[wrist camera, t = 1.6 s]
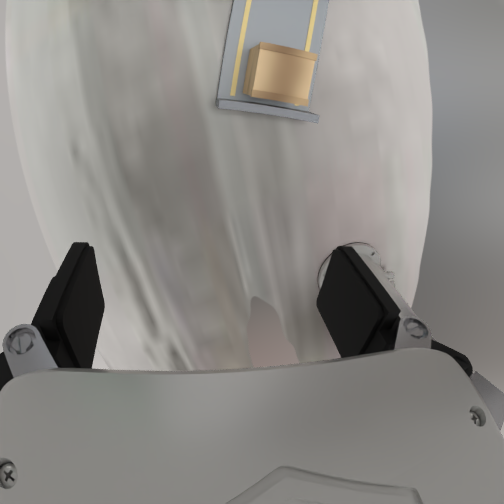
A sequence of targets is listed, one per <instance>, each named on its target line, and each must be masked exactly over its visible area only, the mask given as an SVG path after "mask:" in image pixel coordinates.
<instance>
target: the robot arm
mask: <svg viewBox="0 0 504 504" xmlns="http://www.w3.org/2000/svg"><path fill="white" fill-rule="evenodd" d="M393 278H394V273H393V272H385V271H384V270H383V269H382V267H381V260H380V256H379V254H378V253H377V251H376V250H375V249H374V248H373V247H371V246H370V245H368V244H364V243H353V244H349V245H346V246H338V247H337V248H336V249H335V250H333V252H332V254H331V255H330V256H329V257H328V258H327V260H326V261H325V262H324V264H323V265H322V267H321V269H320V272H319V276H318V284H319V288H320V292H319V295H318V298H317V308H318V310H319V312H320V314H321V316H322V318H323V320H324V322H325V324H326V326H327V328H328V330H329V332H330V335H331V337H332V339H333V341H334V343H335V345H336V347H337V349H338V351H339V353H340V355H341V358H338V359H331V360H324V361H316V362H308V363H299V364H290V365H280V366H270V367H257V368H243V369H225V370H199V371H140V370H108V369H92V364H93V358H94V353H95V348H96V344H97V339H98V334H99V330H100V326H101V321H102V317H103V313H104V308H105V304H104V298H103V294H102V289H101V284H100V280H99V275H98V269H97V264H96V259H95V253H94V248H93V247H92V246H89V244H88V243H87V242H74V243H73V244H72V246H71V248H70V250H69V251H68V253H67V255H66V257H65V259H64V261H63V263H62V265H61V266H60V268H59V270H58V272H57V275H56V276H55V277H53V278H52V280H51V282H50V284H49V286H48V288H47V290H46V292H45V294H44V296H43V298H42V301H41V303H40V305H39V307H38V310H37V312H36V314H35V316H34V318H33V321H32V323H31V325H29V324H21V325H18V326H15V327H14V328H12V329H11V330H10V331H9V332H8V333H7V334H6V336H5V338H4V340H3V350H4V352H2V353H1V354H0V504H504V439H503V436H502V434H501V432H500V430H501V427H502V424H503V421H504V393H503V392H502V391H500V390H499V389H498V388H497V387H495V386H494V385H493V384H491V383H490V382H489V381H488V380H487V379H485V378H484V377H483V376H482V375H480V374H479V373H478V372H477V371H475V372H474V373H472V371H473V370H472V365H471V363H470V361H469V360H468V358H467V357H466V356H465V355H463V354H461V353H459V352H457V351H455V350H453V349H451V348H449V347H447V346H445V345H443V344H440V343H439V342H437V341H436V340H435V339H434V338H433V337H432V333H431V330H430V327H429V326H428V325H427V324H426V322H424V321H423V320H422V319H420V318H418V317H417V316H416V315H415V314H414V312H413V311H412V310H411V308H410V307H409V306H408V304H407V303H406V302H405V300H404V299H403V298H402V296H401V295H400V294H399V292H398V291H397V290H396V289H395V284H394V282H393V281H389V280H388V279H393Z"/></svg>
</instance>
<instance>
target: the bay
mask: <svg viewBox="0 0 504 504" xmlns="http://www.w3.org/2000/svg"><path fill="white" fill-rule="evenodd" d="M328 3H329V0H234V1H233V6H232V11H231V16H230V22H229V27H228V32H227V38H226V44H225V50H224V55H223V62H222V68H221V74H220V80H219V87H218V94H217V101H216V106H217V107H218V108H221V109H231V110H239V111H247V112H255V113H262V114H269V115H275V116H281V117H287V118H293V119H298V120H304V121H309V122H314V123H318V121H319V115H316V114H314V113H311V112H308V111H309V106H310V101H311V96H312V91H313V86H314V81H315V75H316V70H317V65H318V60H319V54H320V49H321V43H322V38H323V32H324V26H325V21H326V15H327V9H328ZM259 42H266V43H271V44H276V45H281V46H286V47H290V48H295V49H299V50H303V51H307V52H311V53H315V54H318V56H317V61H315V64H314V69H313V74H312V80H311V85H310V90H309V95H308V100H309V103H308V107H307V106H302V105H297V104H292V103H287V102H281V101H275V100H269V99H263V98H256V97H250V95H247V94H244V93H243V87H244V81H245V75H246V69H247V63H248V57H249V51H250V49H251V48H253V47H255V46H256V45H258V44H259Z"/></svg>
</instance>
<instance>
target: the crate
mask: <svg viewBox="0 0 504 504" xmlns="http://www.w3.org/2000/svg"><path fill="white" fill-rule="evenodd" d="M317 56H318V54H315V53H311V52H307V51H303V50H299V49H295V48H290V47H286V46H281V45H276V44H271V43H266V42H259V44H258V45H256V46H255V47H253V48H251V49H250V51H249V57H248V63H247V69H246V75H245V81H244V87H243V93H244V94H247V95H250V97H256V98H263V99H269V100H275V101H281V102H287V103H292V104H297V105H302V106H307V107H308V103H309V100H308V95H309V90H310V85H311V80H312V74H313V69H314V64H315V61H317Z"/></svg>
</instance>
